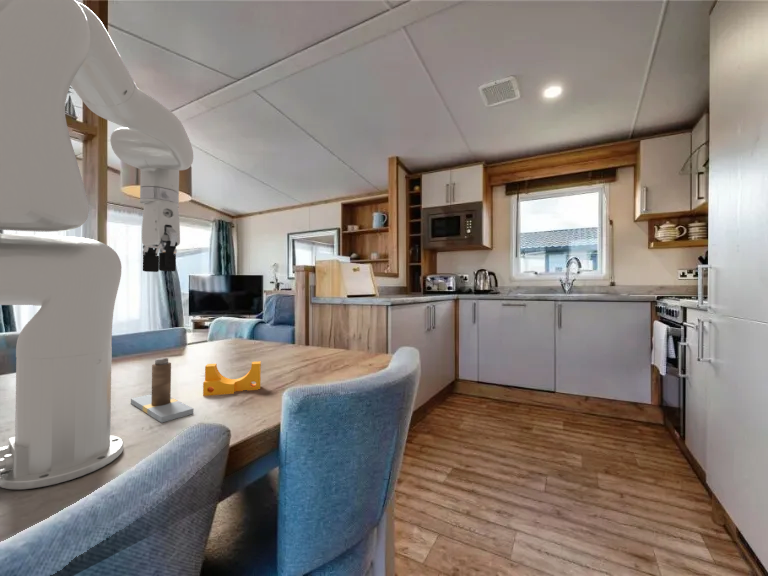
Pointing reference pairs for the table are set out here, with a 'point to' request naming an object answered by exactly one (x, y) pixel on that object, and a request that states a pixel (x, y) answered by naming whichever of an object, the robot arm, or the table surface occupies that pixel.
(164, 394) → the peg
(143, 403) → the board
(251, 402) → the table surface
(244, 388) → the pipe clamp
